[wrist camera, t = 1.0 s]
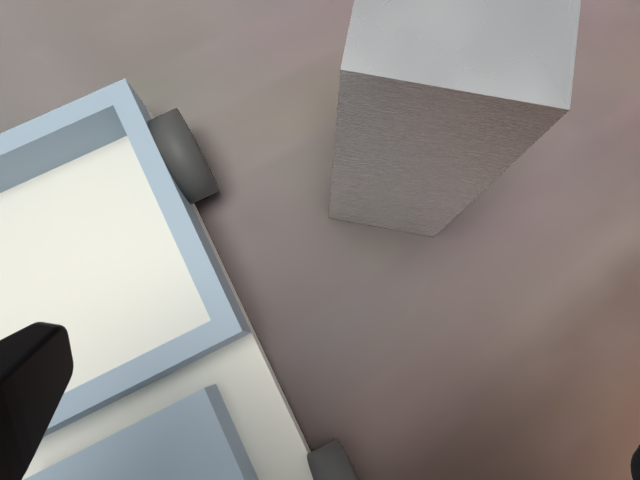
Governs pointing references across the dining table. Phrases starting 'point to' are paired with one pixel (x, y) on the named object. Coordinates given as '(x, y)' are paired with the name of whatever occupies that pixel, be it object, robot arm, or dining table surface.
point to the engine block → (443, 103)
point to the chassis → (138, 305)
